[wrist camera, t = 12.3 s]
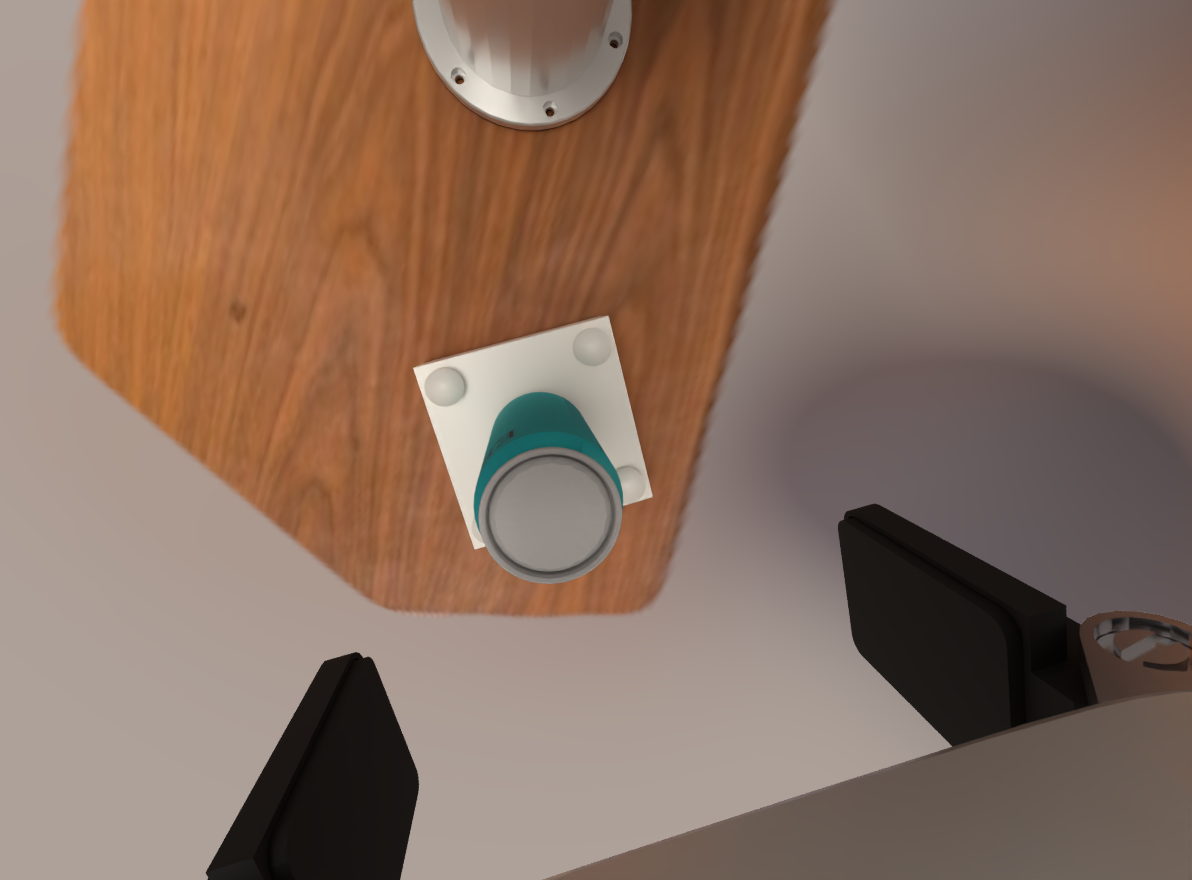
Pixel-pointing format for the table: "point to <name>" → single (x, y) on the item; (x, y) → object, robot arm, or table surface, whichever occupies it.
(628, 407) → the brick
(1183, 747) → the robot arm
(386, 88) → the table surface
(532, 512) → the beverage can
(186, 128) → the table surface
